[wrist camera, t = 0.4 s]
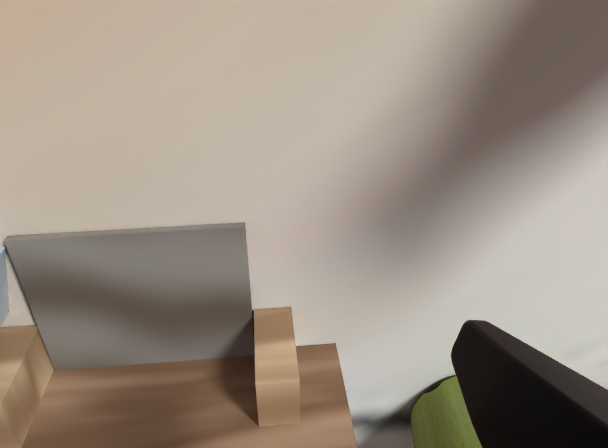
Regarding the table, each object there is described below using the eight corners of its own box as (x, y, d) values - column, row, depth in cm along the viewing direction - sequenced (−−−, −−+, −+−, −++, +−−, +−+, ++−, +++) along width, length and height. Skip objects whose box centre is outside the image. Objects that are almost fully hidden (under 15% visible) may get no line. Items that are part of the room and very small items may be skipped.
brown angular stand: (-100, 242, 22) (-380, 514, 12) (340, 217, 24) (409, 440, 14) (-1, 429, 30) (-127, 698, 20) (333, 400, 31) (375, 634, 21)
